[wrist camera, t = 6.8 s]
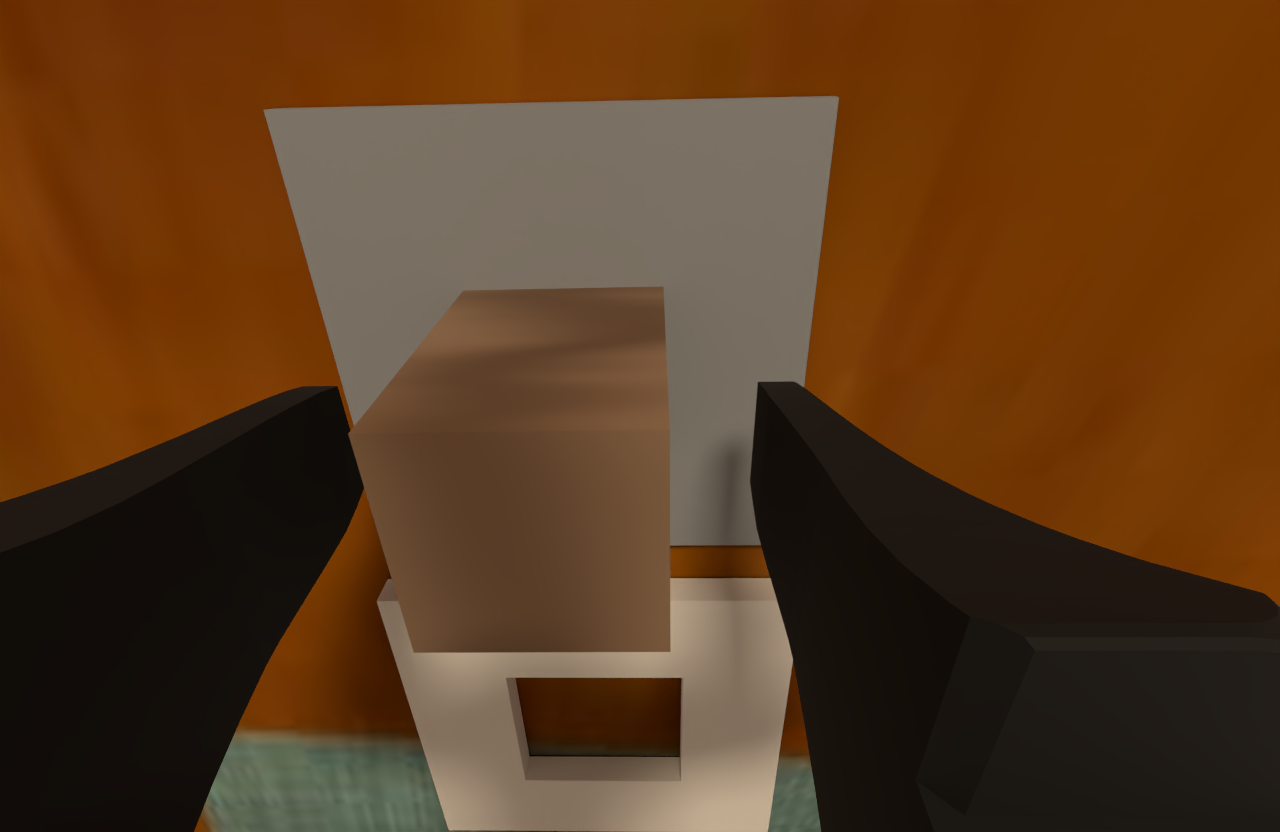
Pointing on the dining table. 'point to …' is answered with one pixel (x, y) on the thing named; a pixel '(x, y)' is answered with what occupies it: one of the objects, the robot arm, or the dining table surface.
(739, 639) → the pocket plate
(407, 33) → the dining table surface
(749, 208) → the mat
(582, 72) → the dining table surface
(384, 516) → the block
